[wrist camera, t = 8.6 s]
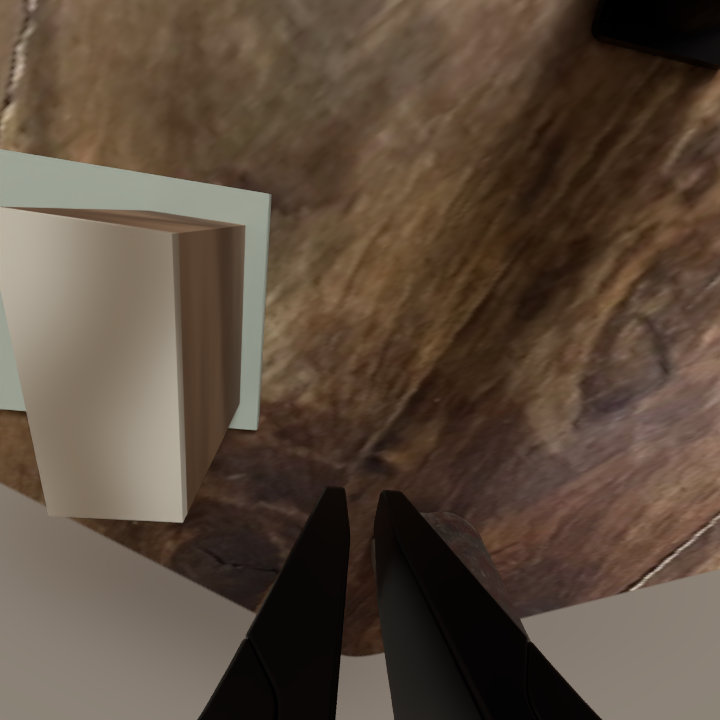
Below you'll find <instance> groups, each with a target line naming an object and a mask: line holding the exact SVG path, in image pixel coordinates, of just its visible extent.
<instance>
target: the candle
mask: <svg viewBox="0 0 720 720" xmlns="http://www.w3.org/2000/svg"><path fill="white" fill-rule="evenodd" d="M420 514H421V515H422V516H423V517H424V518H425V520H426V521H427V522H428V523H429V524H430V525H431V526H432V528H433V529H434V530H435V531H436V532H437V533H438V535H439V536H440V537H441V538H442V539H443V540H444V541H445V543H446V544H447V545H448V546H449V547H450V548H451V550H452V551H453V552H454V553H455V554H456V555H457V556H458V558H459V559H460V560H461V561H462V562H463V563H464V564H465V566H466V567H467V568H468V569H469V570H470V571H471V573H472V574H473V575H474V576H475V577H476V578H477V579H478V581H479V582H480V583H481V584H482V585H483V586H484V588H485V589H486V590H487V591H488V592H489V593H490V594H491V596H492V597H493V598H494V599H495V600H496V601H497V603H498V604H499V605H500V606H501V607H502V608H503V609H504V611H505V612H506V613H507V614H508V615H509V616H510V618H511V619H512V620H513V621H514V622H515V623H516V624H517V626H518V627H519V628H520V629H521V630H522V631H523V633H524V634H525V635H526V636H527V638H528V642H531V641H530V639H529V637H528V635H527V633H526V631H525V629H524V627H523V625H522V623H521V620H520V618H519V616H518V614H517V612H516V610H515V607H514V605H513V603H512V601H511V599H510V597H509V595H508V593H507V591H506V589H505V586H504V584H503V582H502V580H501V578H500V576H499V574H498V572H497V570H496V568H495V566H494V564H493V562H492V560H491V557H490V555H489V553H488V551H487V550H486V548H485V546H484V543H483V541H482V539H481V537H480V535H479V533H478V532H477V531H476V530H475V528H474V527H473V526H472V525H471V524H470V523H469V522H468V521H466V520H465V519H464V518H462V517H459V516H458V515H456V514H454V513H448V512H432V513H422V512H420ZM370 548H371V559H372V567H373V573H374V580H375V589H376V596H377V577H376V558H375V539H374V538H373V539H372V541H371V544H370ZM377 604H378V596H377ZM378 611H379V609H378ZM379 618H380V616H379ZM380 625H381V624H380ZM381 632H382V630H381ZM382 638H383V636H382ZM383 644H384V643H383ZM384 652H385V649H384ZM385 659H386V655H385ZM386 666H387V662H386ZM387 673H388V668H387ZM388 680H389V674H388ZM389 686H390V681H389ZM390 692H391V687H390ZM391 699H392V694H391ZM392 707H393V713H394V706H393V700H392ZM394 720H396V719H395V713H394Z"/></svg>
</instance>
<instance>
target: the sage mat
mask: <svg viewBox="0 0 720 720" xmlns="http://www.w3.org/2000/svg"><path fill="white" fill-rule="evenodd" d="M0 207H35V208H72V209H110V210H148V211H156V212H163V213H169V214H176V215H182V216H189V217H195V218H202V219H208V220H215V221H221V222H228V223H234V224H241V225H246V228H245V259H244V290H243V321H242V352H241V383H240V404H239V406H238V409H237V411H236V413H235V415H234V417H233V419H232V421H231V423H230V425H229V427H228V428H235V429H247V430H257V428H258V425H259V410H260V392H261V374H262V356H263V338H264V320H265V302H266V284H267V266H268V248H269V230H270V212H271V194H267V193H261V192H255V191H249V190H243V189H237V188H231V187H225V186H219V185H213V184H207V183H201V182H194V181H188V180H182V179H176V178H170V177H164V176H158V175H152V174H146V173H140V172H134V171H128V170H122V169H116V168H110V167H104V166H98V165H92V164H86V163H80V162H74V161H68V160H62V159H56V158H50V157H44V156H38V155H32V154H26V153H20V152H14V151H8V150H2V149H0ZM0 409H7V410H19V411H26V408H25V403H24V398H23V394H22V389H21V384H20V380H19V375H18V370H17V366H16V361H15V356H14V351H13V347H12V342H11V337H10V333H9V328H8V323H7V319H6V314H5V309H4V305H3V300H2V295H1V291H0Z"/></svg>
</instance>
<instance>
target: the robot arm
mask: <svg viewBox="0 0 720 720" xmlns="http://www.w3.org/2000/svg"><path fill="white" fill-rule="evenodd" d="M605 18H607V19H609V22H610V27H609V29H607V28H606V27H605V24H604V23H605ZM592 35H593V37H594V38H595V39H596V40H598V41H600V42H604V43H608V44H612V45H616V46H620V47H624V48H628V49H632V50H637V51H641V52H645V53H649V54H653V55H657V56H661V57H665V58H669V59H673V60H677V61H681V62H685V63H689V64H693V65H697V66H701V67H705V68H709V69H713V70H719V69H720V0H599V3H598V6H597V10H596V13H595V16H594V20H593V23H592ZM374 539H375V558H376V577H377V596H378V609H379V616H380V624H381V630H382V636H383V643H384V649H385V655H386V662H387V668H388V674H389V681H390V687H391V694H392V700H393V706H394V713H395V719H396V720H602V719H601V718H600V717H599V716H598V715H597V714H596V713H595V712H594V711H593V710H592V709H591V708H590V707H589V705H587V703H585V701H584V700H583V699H582V698H581V697H580V696H579V695H578V693H576V691H575V690H574V689H573V688H572V687H571V686H570V685H569V683H567V681H566V680H565V679H564V678H563V677H562V676H561V675H560V673H559V672H558V671H557V670H556V669H555V668H554V667H553V666H552V665H551V663H550V662H549V661H548V660H547V659H546V658H545V656H544V655H543V654H542V653H541V652H540V651H539V650H538V648H537V647H536V646H535V645H534V644H533V643H532V642H528V638H527V636H526V635H525V634H524V633H523V631H522V630H521V629H520V628H519V627H518V626H517V624H516V623H515V622H514V621H513V620H512V619H511V618H510V616H509V615H508V614H507V613H506V612H505V611H504V609H503V608H502V607H501V606H500V605H499V604H498V603H497V601H496V600H495V599H494V598H493V597H492V596H491V594H490V593H489V592H488V591H487V590H486V589H485V588H484V586H483V585H482V584H481V583H480V582H479V581H478V579H477V578H476V577H475V576H474V575H473V574H472V573H471V571H470V570H469V569H468V568H467V567H466V566H465V564H464V563H463V562H462V561H461V560H460V559H459V558H458V556H457V555H456V554H455V553H454V552H453V551H452V550H451V548H450V547H449V546H448V545H447V544H446V543H445V541H444V540H443V539H442V538H441V537H440V536H439V535H438V533H437V532H436V531H435V530H434V529H433V528H432V526H431V525H430V524H429V523H428V522H427V521H426V520H425V518H424V517H423V516H422V515H421V514H420V513H419V511H418V510H417V509H416V508H415V507H414V506H413V505H412V503H411V502H410V501H409V500H408V499H407V498H406V496H405V495H404V494H403V493H402V492H400V491H393V490H383V491H382V492H381V494H380V497H379V502H378V507H377V511H376V516H375V522H374ZM349 548H350V527H349V518H348V509H347V500H346V492H345V489H344V488H343V487H332V486H327V487H325V489H324V490H323V492H322V494H321V496H320V498H319V500H318V501H317V503H316V505H315V507H314V509H313V511H312V513H311V514H310V516H309V518H308V520H307V522H306V524H305V526H304V528H303V529H302V531H301V533H300V535H299V537H298V539H297V541H296V542H295V544H294V546H293V548H292V550H291V552H290V554H289V555H288V557H287V559H286V561H285V563H284V565H283V567H282V569H281V570H280V572H279V574H278V576H277V578H276V580H275V582H274V583H273V585H272V587H271V589H270V591H269V593H268V595H267V597H266V598H265V600H264V602H263V604H262V606H261V608H260V610H259V611H258V613H257V615H256V617H255V619H254V621H253V623H252V625H251V626H250V628H249V630H248V632H247V634H246V639H244V640H243V641H242V643H241V644H240V647H239V648H238V650H237V652H236V654H235V656H234V657H233V659H232V661H231V663H230V665H229V667H228V669H227V670H226V672H225V674H224V675H223V677H222V679H221V681H220V682H219V684H218V686H217V688H216V689H215V691H214V693H213V695H212V696H211V698H210V700H209V702H208V703H207V705H206V707H205V709H204V710H203V712H202V713H201V715H200V716H199V718H198V720H335V717H336V716H335V715H336V705H337V692H338V681H339V669H340V657H341V645H342V633H343V621H344V609H345V597H346V585H347V572H348V560H349Z"/></svg>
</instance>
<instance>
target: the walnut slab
mask: <svg viewBox="0 0 720 720" xmlns="http://www.w3.org/2000/svg"><path fill="white" fill-rule="evenodd" d="M245 228H246V225H241V224H234V223H228V222H221V221H215V220H208V219H202V218H195V217H189V216H182V215H176V214H169V213H163V212H156V211H148V210H110V209H72V208H35V207H0V291H1V295H2V300H3V305H4V309H5V314H6V319H7V323H8V328H9V333H10V337H11V342H12V347H13V351H14V356H15V361H16V366H17V370H18V375H19V380H20V384H21V389H22V394H23V398H24V403H25V408H26V412H27V417H28V422H29V426H30V431H31V436H32V440H33V445H34V450H35V454H36V459H37V464H38V468H39V473H40V478H41V483H42V487H43V492H44V497H45V501H46V506H47V511H48V515H49V516H61V517H81V518H101V519H121V520H141V521H161V522H181V523H183V521H184V519H185V517H186V515H187V513H188V511H189V509H190V507H191V505H192V502H193V500H194V498H195V496H196V494H197V492H198V490H199V488H200V486H201V484H202V482H203V479H204V477H205V475H206V473H207V471H208V469H209V467H210V465H211V463H212V461H213V459H214V457H215V454H216V452H217V450H218V448H219V446H220V444H221V442H222V440H223V438H224V436H225V434H226V431H227V429H228V427H229V425H230V423H231V421H232V419H233V417H234V415H235V413H236V411H237V409H238V406H239V404H240V383H241V352H242V321H243V290H244V259H245Z"/></svg>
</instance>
